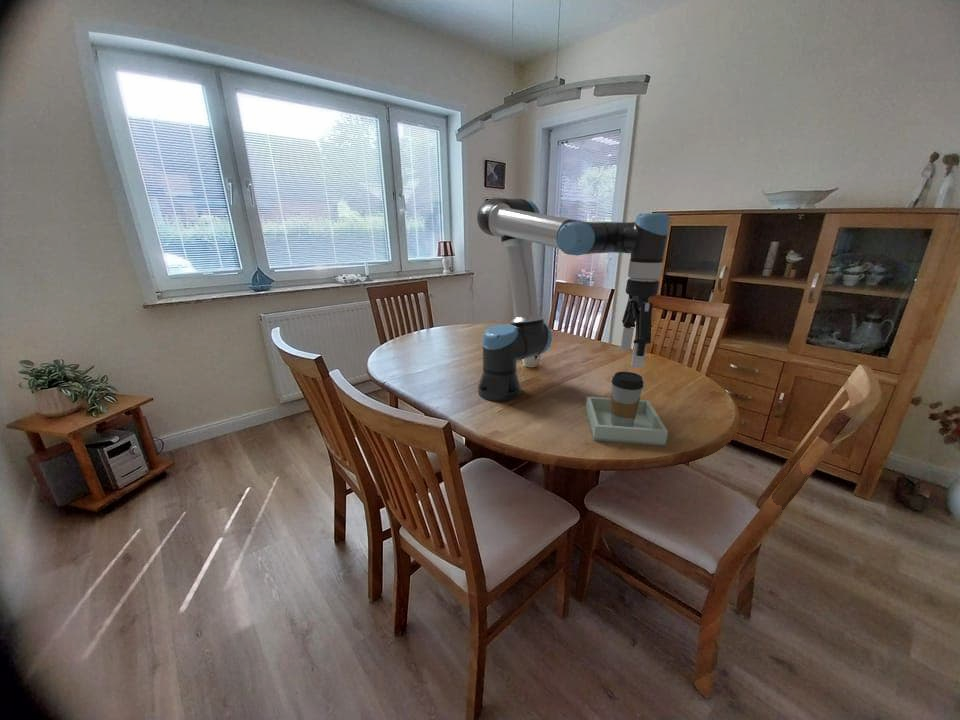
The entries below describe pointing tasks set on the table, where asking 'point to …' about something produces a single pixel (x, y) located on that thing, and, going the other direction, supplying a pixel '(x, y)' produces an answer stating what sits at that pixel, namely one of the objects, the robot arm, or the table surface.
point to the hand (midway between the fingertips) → (630, 357)
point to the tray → (642, 432)
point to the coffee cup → (625, 398)
